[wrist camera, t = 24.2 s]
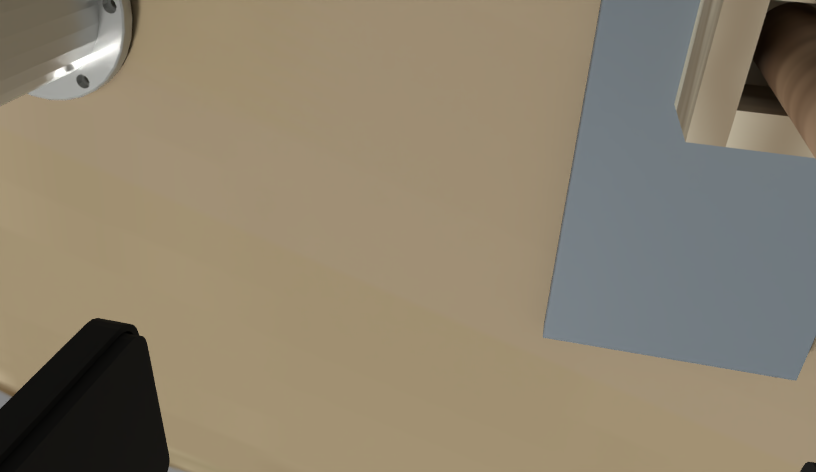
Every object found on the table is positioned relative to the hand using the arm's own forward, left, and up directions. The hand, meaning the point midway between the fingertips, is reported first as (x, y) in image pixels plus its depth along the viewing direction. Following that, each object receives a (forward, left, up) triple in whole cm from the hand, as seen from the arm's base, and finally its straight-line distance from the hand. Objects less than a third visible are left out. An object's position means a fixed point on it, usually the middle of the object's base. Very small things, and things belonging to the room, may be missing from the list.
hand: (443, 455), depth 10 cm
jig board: (+10, -7, -30) cm, 33 cm away
